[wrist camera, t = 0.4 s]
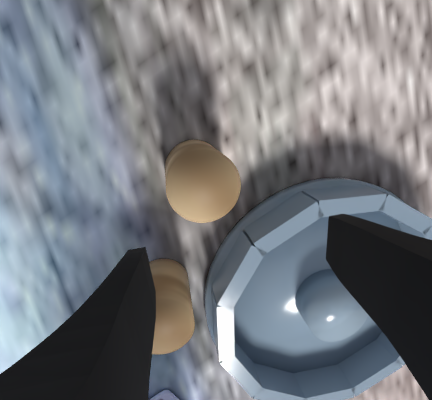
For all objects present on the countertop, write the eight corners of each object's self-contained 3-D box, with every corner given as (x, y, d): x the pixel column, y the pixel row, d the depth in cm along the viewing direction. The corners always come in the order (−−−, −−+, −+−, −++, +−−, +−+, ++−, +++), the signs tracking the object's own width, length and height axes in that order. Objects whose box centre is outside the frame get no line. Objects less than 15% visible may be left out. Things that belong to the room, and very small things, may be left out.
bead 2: (186, 206, 20) (193, 236, 16) (153, 161, 19) (150, 178, 14) (232, 175, 20) (253, 196, 15) (202, 127, 19) (215, 134, 14)
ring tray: (273, 406, 28) (287, 445, 25) (154, 273, 21) (153, 302, 18) (440, 299, 28) (477, 324, 25) (375, 126, 21) (415, 129, 18)
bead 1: (156, 311, 22) (154, 364, 18) (124, 278, 21) (113, 326, 16) (197, 284, 22) (206, 330, 18) (168, 249, 21) (170, 289, 16)
